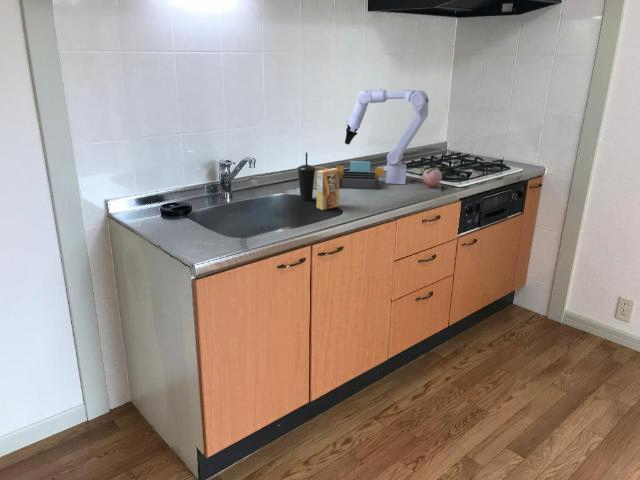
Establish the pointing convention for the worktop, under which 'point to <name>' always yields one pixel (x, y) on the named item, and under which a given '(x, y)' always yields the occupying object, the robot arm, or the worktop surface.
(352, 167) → the block
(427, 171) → the decorative fruit
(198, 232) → the worktop surface
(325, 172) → the candy box
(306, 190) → the drinking cup
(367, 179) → the rack
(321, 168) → the flower pot
